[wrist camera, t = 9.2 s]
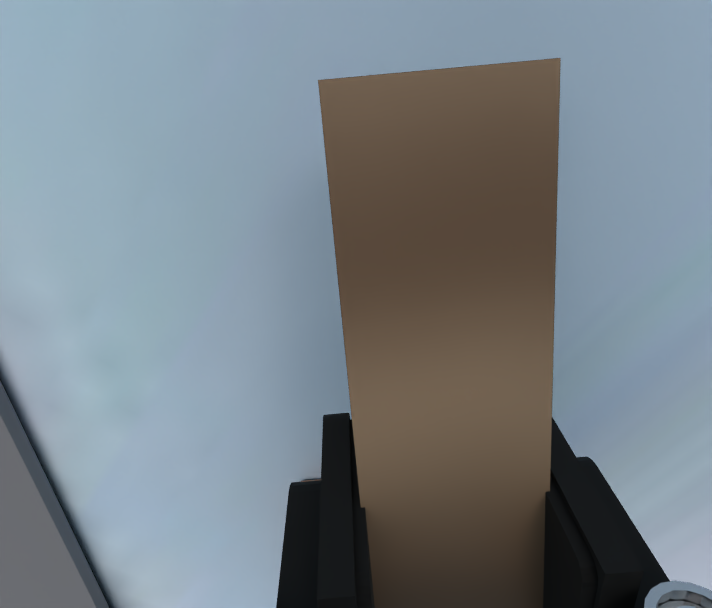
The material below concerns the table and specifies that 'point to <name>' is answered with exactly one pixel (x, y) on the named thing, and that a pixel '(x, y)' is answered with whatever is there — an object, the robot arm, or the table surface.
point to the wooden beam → (449, 322)
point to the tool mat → (36, 532)
